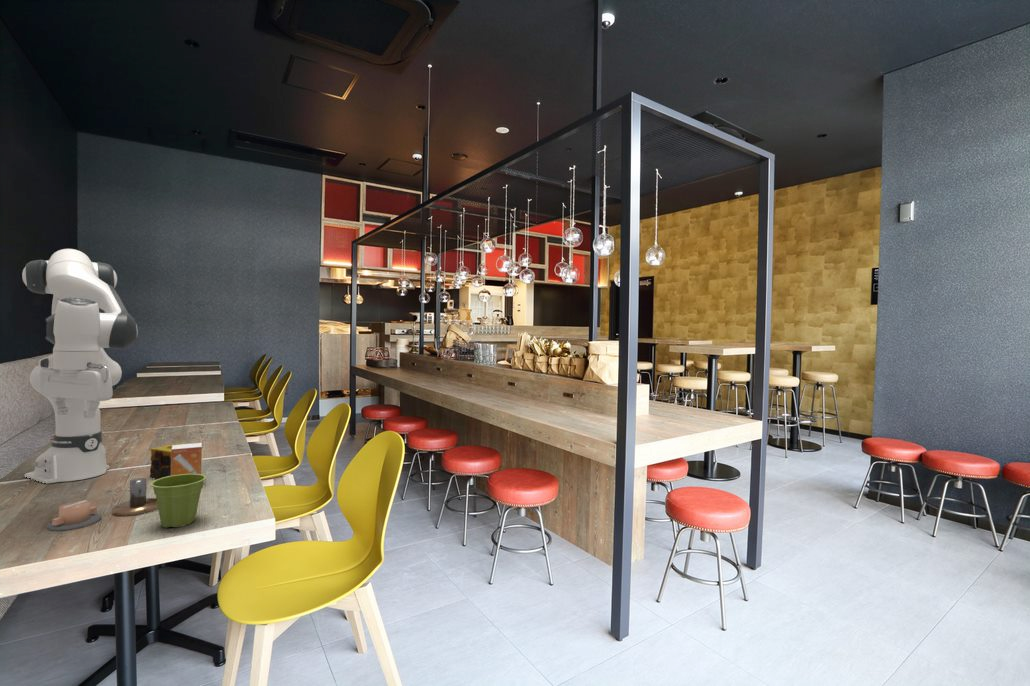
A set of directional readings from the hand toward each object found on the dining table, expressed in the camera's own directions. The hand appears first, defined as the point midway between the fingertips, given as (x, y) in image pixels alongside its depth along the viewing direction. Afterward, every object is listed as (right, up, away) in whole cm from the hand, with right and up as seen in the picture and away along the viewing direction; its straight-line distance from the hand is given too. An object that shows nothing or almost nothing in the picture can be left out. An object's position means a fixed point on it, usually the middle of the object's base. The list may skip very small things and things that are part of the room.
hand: (75, 416), depth 121 cm
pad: (-1, -27, +1) cm, 27 cm away
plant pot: (+25, -28, +2) cm, 38 cm away
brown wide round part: (+7, -27, +11) cm, 30 cm away
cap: (-1, -27, +1) cm, 27 cm away
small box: (+7, -27, +31) cm, 42 cm away
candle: (-4, -27, +41) cm, 49 cm away
